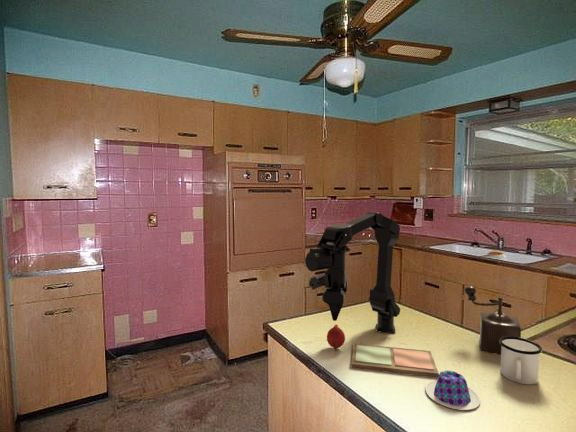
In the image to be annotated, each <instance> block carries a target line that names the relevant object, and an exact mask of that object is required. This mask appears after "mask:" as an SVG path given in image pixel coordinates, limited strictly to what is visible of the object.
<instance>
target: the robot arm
mask: <svg viewBox="0 0 576 432" xmlns="http://www.w3.org/2000/svg"><path fill="white" fill-rule="evenodd" d="M369 228H370V229H371V230H372V231H373V232H374V238H375V240H376V242H377V244H378V251H377V252H378V254H377V265H376V266H377V267H376V281H375V282H376V283H375V285H374V287H373V288H371V289H370V290H369V297H368V301H369V304H370V306H371V311H372V312H376V313H377V319H376V320H377V323H375V326H376V327H375V329H376V332H377V333H386V334H387V333H388V334H396V327H395V322H394V321H395V317H397V318H398V317H399V315H400V313H401V307H400V306H399V305H398V304H397V302H396V299H395V297H396V296H395V293H394V290H393V289H392V286H391V285H392V284H391V282H392V271H393V270H392V269H393V257H394V256H393V255H394V252H393V251H394V246H395V244H396V243H397V242H398V240H399V236H400V233H401V232H400V231H401V227H400V224H399V223H398V222H397V221H395V220H393V219H391V218H389V217H387V216H385V215H383V214H382V213H380V212H379V211H377V212H376V211H368V212H366V213H365V214H364V215H361V216H359V217H357V218H355V219H352V220H350V221H348V222H346V223H343V224H334V225H329V226H327V227H325V228H324V231H323V234H322V235H321V237H320V240H319V241H318V244H317V246H316V248H315V247H311V248H310V247H309V252H308V253H307V254H306V256H305V258H304V263H305V266H306V268H307V270H308V271H309V272H317V271H322V270H325V272H324V273H321V274H317V275H313V276H311V277H310V278H308V286H309V287H310V288H311V290H312V291H314V290H316V289H318V288H321V287H324V288H325V289H324V291H323V293H322V298H321V299H322V300H321V301H323V302H324V303H325V304H326V305H328V307H329V310H330V311H329V312H330V314H331V319H332V321H333V322H336V321H337V320H338V318H339V315H340V312H341V311H342V308H343V305H344V303H345V296H346V293H347V291H348V286H349V280H348V279H347V277H346V272H347V271H346V270H347V269H346V252H347V253H348V252H350V251H351V248H350V247H348V246H347V244H348V243H350V242H352V241H353V240H352V239H353V237H354V236H356V235H357V234H360V233H361V232H364V231H365V230H368V229H369Z"/></svg>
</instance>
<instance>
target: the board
mask: <svg viewBox="0 0 576 432" xmlns="http://www.w3.org/2000/svg"><path fill="white" fill-rule="evenodd" d="M351 369H358V370H367V371H373V372H375V371H376V372H385V373H390V374H391V373H393V374H399V375H400V374H402V375H410V376H418V377H428V378H434V379H435V378H437V379H438V376H439V374H440V372H439V370H438V368H437V365H436V363H435V360H434V357H433V354H432V351H431V350H424V349H414V348H403V347H393V346H385V345H384V346H383V345H372V344H362V343H353V349H352V357H351Z"/></svg>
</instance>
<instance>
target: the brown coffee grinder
mask: <svg viewBox="0 0 576 432" xmlns="http://www.w3.org/2000/svg"><path fill="white" fill-rule="evenodd" d="M463 292H464V293H465V294H466V296H467V301H470V303H472V305H475V306H482V307H484V306H485V307H488V306H489V307H490V306H491V307H492V306H493V307H494V306H498V309H497V310H496V311H494V312H493V311H492V312H485V311H484V312H483V311H481V312H480V323H479V324H480V327H479V329H480V330H479V348H480V350H481V352H483V353H488V354H493V355H499V356H501V345H500V343H499V339H500V338H502V337H506V336H513V337H520V338H522V328H521V325H520V322H519V319H518V317H517V316H512V315H509V314H507V313H505V312H503V311H502V310H503V309H502V308H503V304H504V301H503V300H504V298H503V297H502V296H499V297H498V298H497V300H498V301H497V302H477V301H476V300H477V299H478V298H477V296H476V293H477V288H476V287H474V286H472V285H468V286H466V287H464V288H463Z"/></svg>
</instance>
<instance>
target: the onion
mask: <svg viewBox="0 0 576 432" xmlns="http://www.w3.org/2000/svg"><path fill="white" fill-rule="evenodd" d="M326 342H327V343H328V345H329V346H330V347H331V348H333V349H334V350H338V349H339V348H341V347H343V345H344V343H345V342H346V335H345V332H344V331H343V329H341V328H340V327H339V325H338V324H334V325H333V327H332V328H330V329H329V330H328V331H327V335H326Z"/></svg>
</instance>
